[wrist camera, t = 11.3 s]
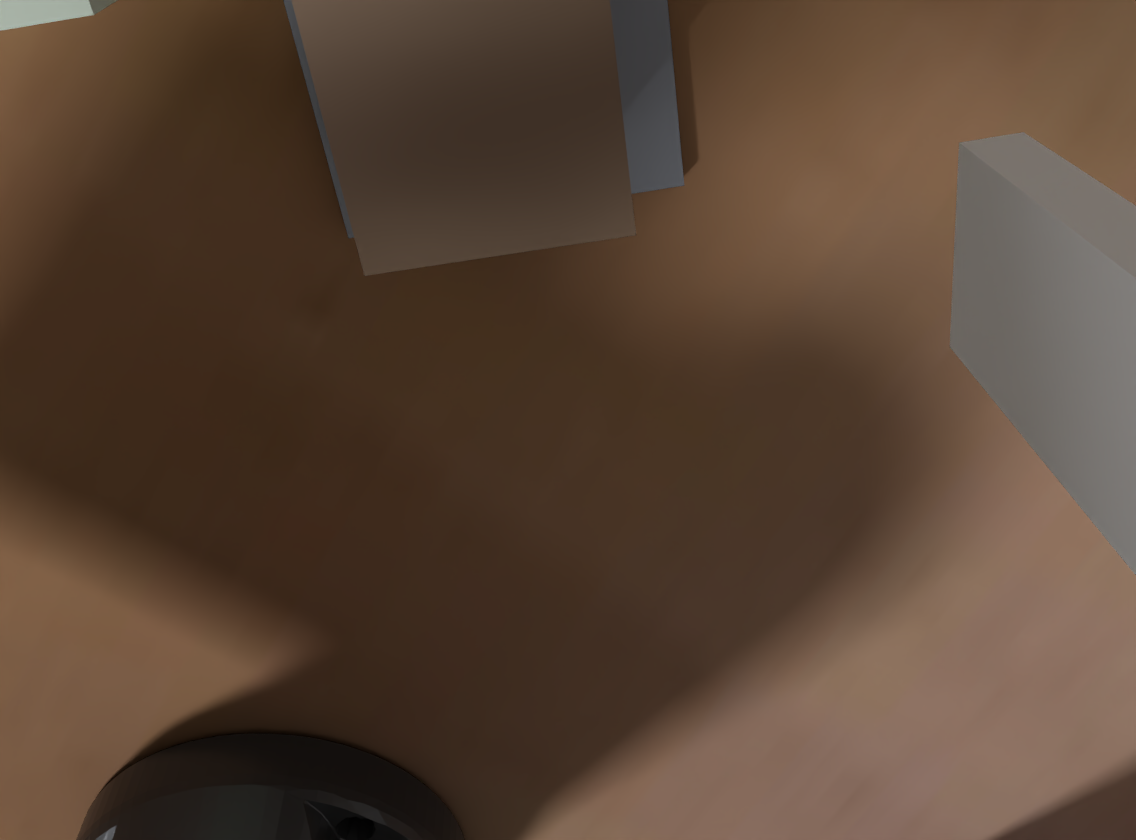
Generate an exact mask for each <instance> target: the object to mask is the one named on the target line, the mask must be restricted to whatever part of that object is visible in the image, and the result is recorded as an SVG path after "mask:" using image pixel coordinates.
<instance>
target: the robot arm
mask: <svg viewBox="0 0 1136 840" xmlns="http://www.w3.org/2000/svg"><path fill="white" fill-rule="evenodd" d="M950 348H951V349H952V350H953V351H954V353H955V354H956V355H957V356H958V358H959V359H960V360H961V361H962V363H963V364H964V365H965V366H966V367H967V369H968V370H969V371H970V372H971V374H972V375H973V376H974V377H975V378H976V380H977V381H978V382H979V383H980V385H981V386H982V387H983V388H984V390H985V391H986V392H987V393H988V394H989V396H990V397H991V398H992V399H993V401H994V402H995V403H996V404H997V405H998V407H999V408H1000V409H1001V410H1002V412H1003V413H1004V414H1005V415H1006V417H1007V418H1008V419H1009V420H1010V421H1011V423H1012V424H1013V425H1014V426H1015V428H1016V429H1017V430H1018V431H1019V432H1020V434H1021V435H1022V436H1023V437H1024V439H1025V440H1026V441H1027V442H1028V444H1029V445H1030V446H1031V447H1032V448H1033V450H1034V451H1035V452H1036V453H1037V455H1038V456H1039V457H1040V458H1041V460H1042V461H1043V462H1044V463H1045V464H1046V466H1047V467H1048V468H1049V469H1050V471H1051V472H1052V473H1053V474H1054V475H1055V477H1056V478H1057V479H1058V480H1059V482H1060V483H1061V484H1062V485H1063V487H1064V488H1065V489H1066V490H1067V491H1068V493H1069V494H1070V495H1071V496H1072V498H1073V499H1074V500H1075V501H1076V502H1077V504H1078V505H1079V506H1080V507H1081V509H1082V510H1083V511H1084V512H1085V514H1086V515H1087V516H1088V517H1089V518H1090V520H1091V521H1092V522H1093V523H1094V525H1095V526H1096V527H1097V528H1098V529H1099V531H1100V532H1101V533H1102V534H1103V536H1104V537H1105V538H1106V539H1107V541H1108V542H1109V543H1110V544H1111V545H1112V547H1113V548H1114V549H1115V550H1116V552H1117V553H1118V554H1119V555H1120V556H1121V558H1122V559H1123V560H1124V561H1125V563H1126V564H1127V565H1128V566H1129V568H1130V569H1131V570H1132V571H1133V572H1134V574H1135V575H1136V206H1135V205H1134V204H1132V203H1131V202H1129V201H1128V200H1126V199H1125V198H1123V197H1122V196H1120V195H1118V194H1117V193H1115V192H1114V191H1112V190H1111V189H1109V188H1108V187H1106V186H1105V185H1103V184H1102V183H1100V182H1099V181H1097V180H1096V179H1094V178H1093V177H1091V176H1089V175H1088V174H1086V173H1085V172H1083V171H1082V170H1080V169H1079V168H1077V167H1076V166H1074V165H1073V164H1071V163H1070V162H1068V161H1067V160H1065V159H1064V158H1062V157H1060V156H1059V155H1057V154H1056V153H1054V152H1053V151H1051V150H1050V149H1048V148H1047V147H1045V146H1044V145H1042V144H1041V143H1039V142H1038V141H1036V140H1035V139H1033V138H1031V137H1030V136H1028V135H1027V134H1025V133H1024V132H1022V133H1016V134H1010V135H1004V136H997V137H991V138H985V139H979V140H973V141H967V142H961V143H959V157H958V179H957V201H956V222H955V244H954V266H953V287H952V309H951V331H950ZM76 840H465V839H464V836H463V834H462V831H461V829H460V827H459V825H458V823H457V821H456V820H455V818H454V816H453V815H452V813H451V812H450V811H449V809H448V808H447V807H446V805H445V804H444V803H443V802H442V801H441V800H440V799H439V798H438V797H437V796H436V795H435V794H434V793H433V792H432V791H431V790H430V789H429V788H428V787H426V786H425V785H424V784H423V783H421V782H420V781H419V780H417V779H416V778H414V777H413V776H411V775H410V774H409V773H407V772H405V771H404V770H402V769H400V768H398V767H397V766H395V765H393V764H391V763H389V762H387V761H385V760H383V759H381V758H378V757H376V756H374V755H371V754H369V753H366V752H363V751H361V750H358V749H355V748H352V747H348V746H345V745H342V744H338V743H334V742H330V741H325V740H320V739H315V738H309V737H302V736H295V735H284V734H235V735H225V736H217V737H211V738H205V739H200V740H196V741H191V742H187V743H184V744H180V745H177V746H173V747H171V748H168V749H165V750H162V751H160V752H157V753H155V754H153V755H151V756H148V757H146V758H144V759H143V760H141V761H139V762H137V763H135V764H134V765H132V766H130V767H129V768H127V769H126V770H124V771H123V772H122V773H120V774H119V775H118V776H116V777H115V778H114V779H113V780H112V781H111V782H110V783H108V784H107V785H106V787H105V788H104V789H103V790H102V791H101V792H100V793H99V795H98V796H97V797H96V799H95V800H94V801H93V803H92V805H91V806H90V808H89V810H88V812H87V814H86V817H85V819H84V822H83V824H82V827H81V829H80V832H79V834H78V837H77V839H76Z"/></svg>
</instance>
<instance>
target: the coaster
mask: <svg viewBox="0 0 1136 840" xmlns="http://www.w3.org/2000/svg"><path fill="white" fill-rule="evenodd" d="M283 1H284V4H285V8H286V12H287V15H288V19H289V23H290V26H291V30H292V34H293V37H294V41H295V45H296V48H297V52H298V55H299V59H300V63H301V66H302V70H303V74H304V77H305V81H306V85H307V88H308V92H309V96H310V99H311V103H312V107H313V110H314V114H315V118H316V121H317V125H318V129H319V132H320V136H321V139H322V143H323V147H324V150H325V154H326V158H327V161H328V165H329V169H330V172H331V176H332V180H333V183H334V187H335V191H336V194H337V198H338V202H339V205H340V209H341V212H342V216H343V220H344V223H345V227H346V231H347V234H348V238H354V235H353V231H352V227H351V223H350V220H349V216H348V212H347V208H346V204H345V201H344V197H343V193H342V189H341V185H340V182H339V178H338V174H337V170H336V167H335V163H334V159H333V155H332V151H331V148H330V144H329V140H328V136H327V133H326V129H325V125H324V121H323V117H322V114H321V110H320V106H319V102H318V98H317V95H316V91H315V87H314V83H313V80H312V76H311V72H310V68H309V64H308V61H307V57H306V53H305V49H304V46H303V42H302V38H301V34H300V30H299V27H298V23H297V19H296V15H295V12H294V8H293V4H292V0H283ZM610 7H611V16H612V25H613V34H614V43H615V51H616V60H617V69H618V78H619V87H620V96H621V105H622V114H623V122H624V131H625V140H626V149H627V158H628V167H629V176H630V184H631V193H632V194H634V193H640V192H646V191H653V190H659V189H665V188H672V187H678V186H684V177H683V166H682V155H681V144H680V133H679V122H678V111H677V100H676V89H675V78H674V67H673V56H672V45H671V34H670V23H669V12H668V1H667V0H610Z"/></svg>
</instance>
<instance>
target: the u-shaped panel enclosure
mask: <svg viewBox="0 0 1136 840" xmlns="http://www.w3.org/2000/svg"><path fill="white" fill-rule="evenodd" d="M116 1H117V0H0V31H1V30H7V29H13V28H19V27H25V26H31V25H37V24H43V23H49V22H55V21H61V20H67V19H73V18H79V17H85V16H91V15H95V14H96V13H98V12H100V11H101V10H103V9H104V8H106V7H108V6H109V5H111V4H112V3H114V2H116Z"/></svg>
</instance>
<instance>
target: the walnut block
mask: <svg viewBox="0 0 1136 840" xmlns="http://www.w3.org/2000/svg"><path fill="white" fill-rule="evenodd" d="M292 4H293V8H294V12H295V15H296V19H297V23H298V27H299V30H300V34H301V38H302V42H303V46H304V49H305V53H306V57H307V61H308V64H309V68H310V72H311V76H312V80H313V83H314V87H315V91H316V95H317V98H318V102H319V106H320V110H321V114H322V117H323V121H324V125H325V129H326V133H327V136H328V140H329V144H330V148H331V151H332V155H333V159H334V163H335V167H336V170H337V174H338V178H339V182H340V185H341V189H342V193H343V197H344V201H345V204H346V208H347V212H348V216H349V220H350V223H351V227H352V231H353V235H354V238H355V242H356V246H357V250H358V254H359V257H360V261H361V265H362V269H363V272H364V276H368V275H374V274H381V273H388V272H394V271H401V270H408V269H414V268H421V267H428V266H434V265H441V264H448V263H454V262H461V261H468V260H474V259H481V258H487V257H494V256H501V255H507V254H514V253H521V252H527V251H534V250H541V249H547V248H554V247H561V246H567V245H574V244H581V243H587V242H594V241H601V240H607V239H614V238H621V237H627V236H634V235H636V229H635V220H634V211H633V202H632V193H631V184H630V176H629V167H628V158H627V149H626V140H625V131H624V122H623V114H622V105H621V96H620V87H619V78H618V69H617V60H616V51H615V43H614V34H613V25H612V16H611V7H610V0H292Z"/></svg>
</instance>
